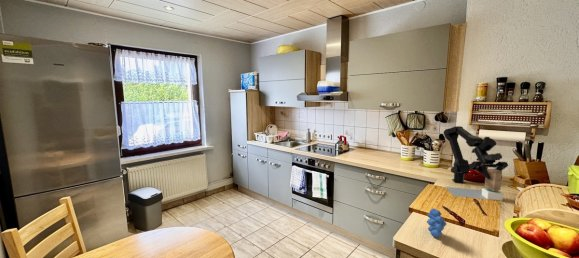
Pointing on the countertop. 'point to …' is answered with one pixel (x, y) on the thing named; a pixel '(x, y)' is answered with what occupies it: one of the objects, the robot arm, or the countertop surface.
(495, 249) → the countertop surface
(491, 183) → the walnut pillar
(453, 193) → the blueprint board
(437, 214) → the grapes
